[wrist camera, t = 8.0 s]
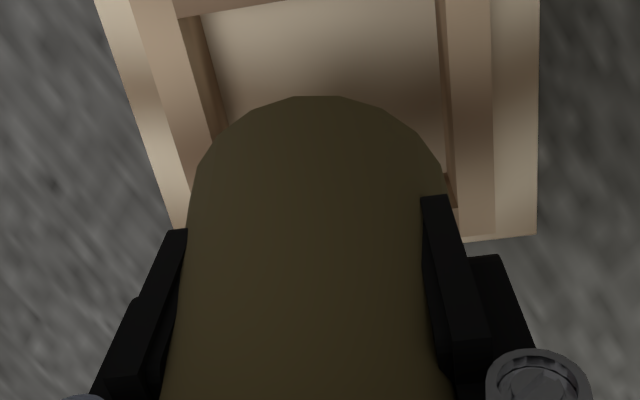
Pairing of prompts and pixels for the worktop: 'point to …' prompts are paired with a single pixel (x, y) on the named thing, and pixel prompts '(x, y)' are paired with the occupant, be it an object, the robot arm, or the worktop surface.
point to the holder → (344, 84)
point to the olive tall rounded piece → (307, 260)
